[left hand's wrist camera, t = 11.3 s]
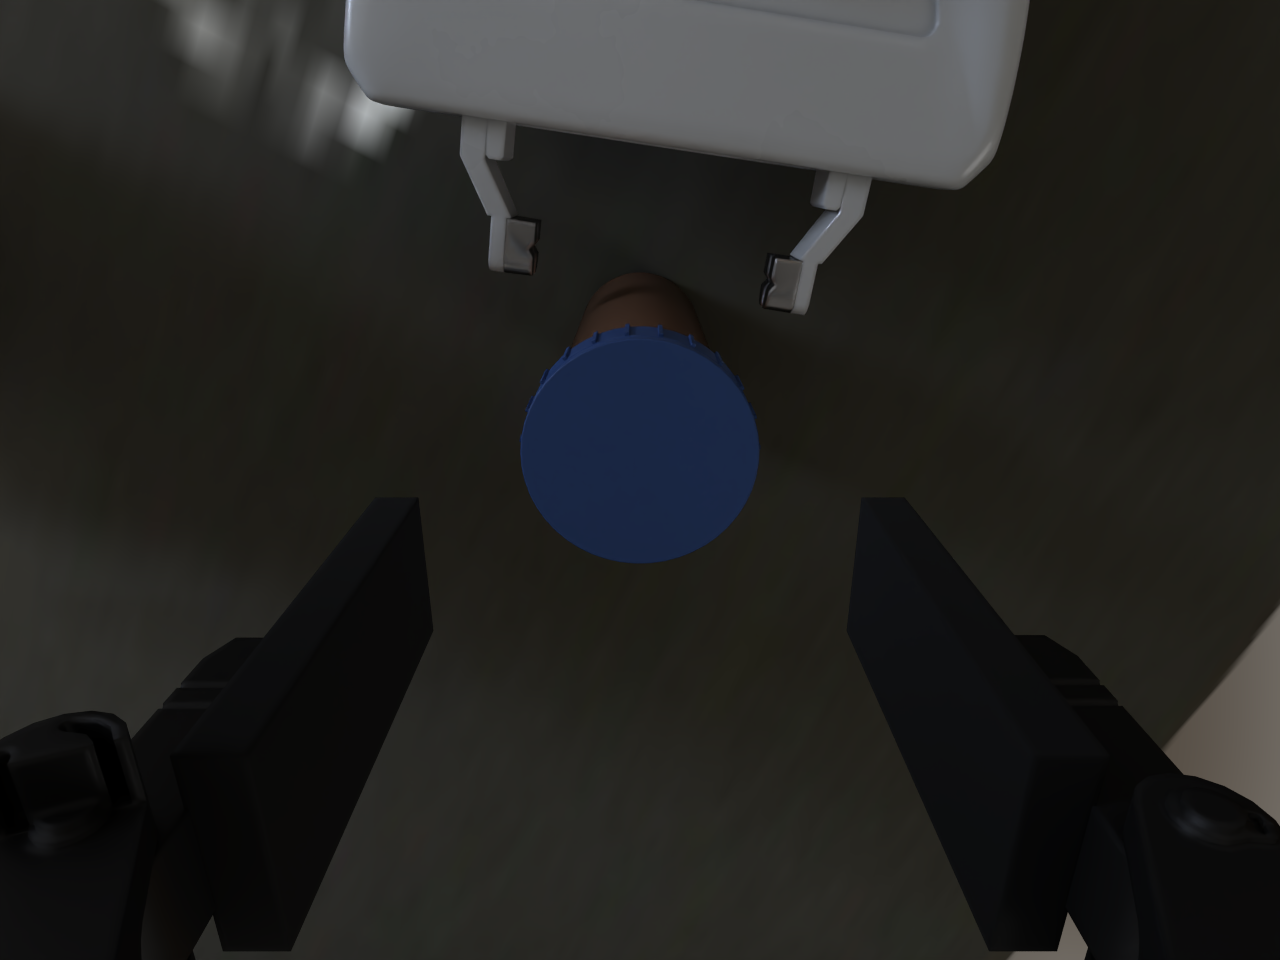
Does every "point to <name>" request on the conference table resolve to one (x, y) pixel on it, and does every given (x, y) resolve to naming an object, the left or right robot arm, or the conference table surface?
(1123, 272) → the conference table surface
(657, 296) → the jar
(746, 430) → the lid
